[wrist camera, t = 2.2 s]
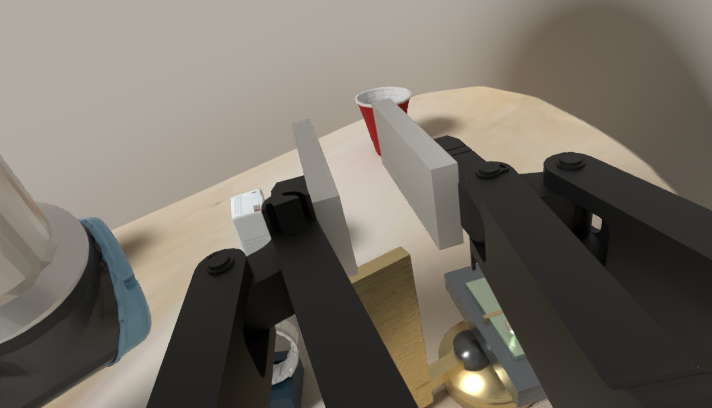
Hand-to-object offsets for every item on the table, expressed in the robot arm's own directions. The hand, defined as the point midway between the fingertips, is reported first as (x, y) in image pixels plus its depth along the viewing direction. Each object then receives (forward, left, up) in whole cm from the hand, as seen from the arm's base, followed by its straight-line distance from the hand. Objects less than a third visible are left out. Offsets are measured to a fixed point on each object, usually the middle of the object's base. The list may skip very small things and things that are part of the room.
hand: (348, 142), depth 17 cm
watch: (-17, -3, -30) cm, 35 cm away
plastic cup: (-46, +44, -30) cm, 70 cm away
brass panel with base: (-2, +8, -30) cm, 31 cm away
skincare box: (-34, +7, -30) cm, 46 cm away
